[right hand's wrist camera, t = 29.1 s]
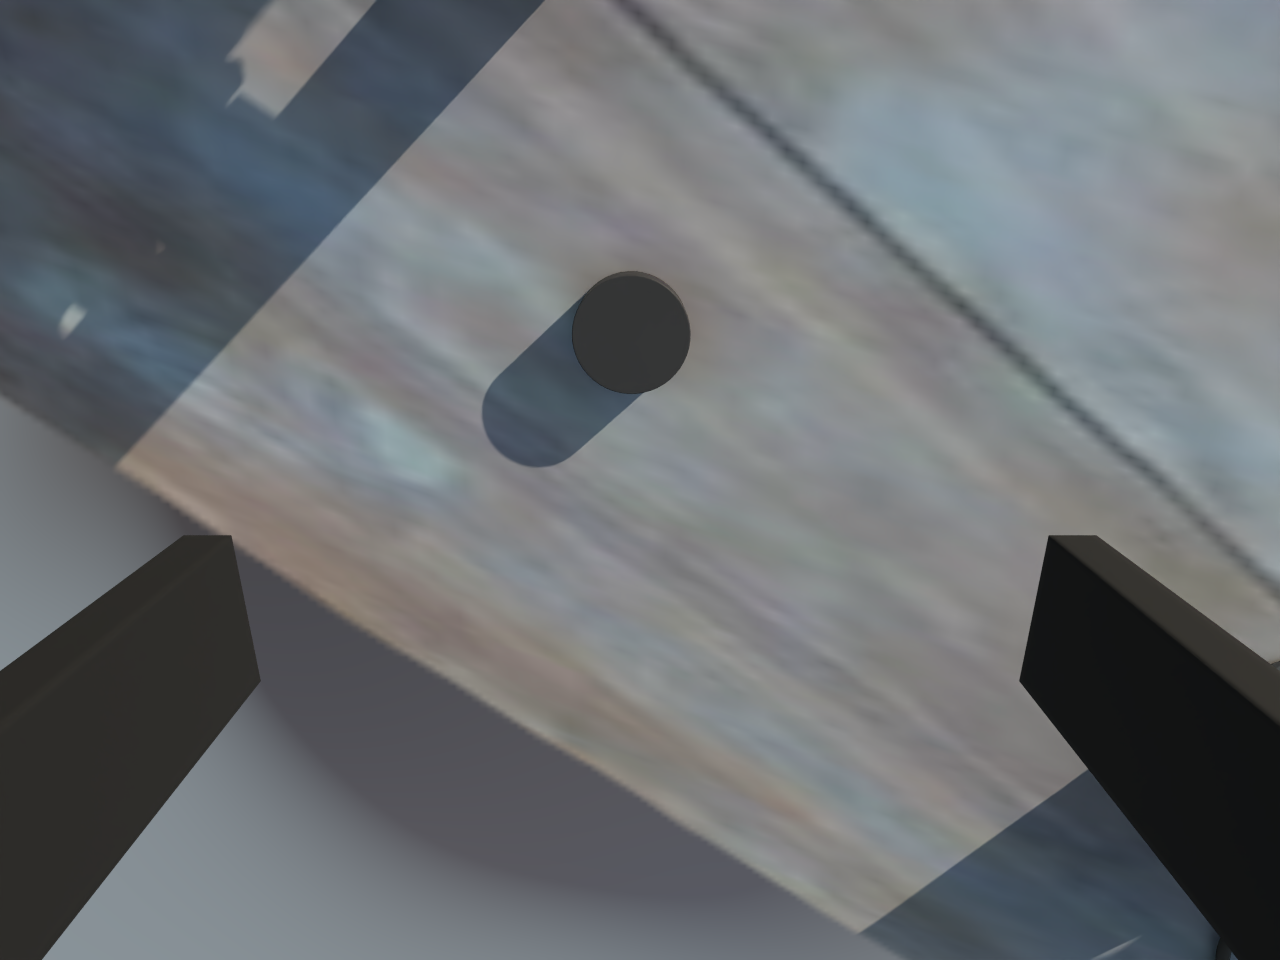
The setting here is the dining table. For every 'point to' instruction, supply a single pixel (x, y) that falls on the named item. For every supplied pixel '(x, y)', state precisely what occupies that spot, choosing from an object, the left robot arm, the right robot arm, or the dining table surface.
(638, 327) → the lid
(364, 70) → the dining table surface
